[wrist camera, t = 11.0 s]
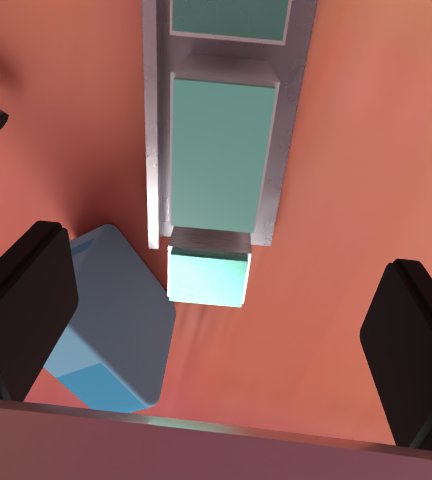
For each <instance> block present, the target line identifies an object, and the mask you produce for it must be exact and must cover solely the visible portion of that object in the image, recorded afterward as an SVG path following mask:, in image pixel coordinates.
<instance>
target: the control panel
mask: <svg viewBox="0 0 432 480" xmlns="http://www.w3.org/2000/svg"><path fill="white" fill-rule="evenodd" d="M8 116H9V115H8V114H6V113H5V112H3V111H2V110H0V129H1V128H2V127H3V126H4V125H5V123H6V122H7V120H8Z"/></svg>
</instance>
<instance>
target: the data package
mask: <svg viewBox="0 0 432 480" xmlns="http://www.w3.org/2000/svg"><path fill="white" fill-rule="evenodd" d="M69 242H70V248H71V254H72V260H73V266H74V272H75V278H76V284H77V290H78V296H79V302H78V307H77V309H76V311H75V313H74V315H73V316H72V318H71V320H70V321H69V323H68V325H67V327H66V328H65V330H64V332H63V333H62V335H61V337H60V339H59V340H58V342H57V344H56V346H55V347H54V349H53V351H52V352H51V354H50V356H49V358H48V359H47V361H46V363H45V364H44V366H43V367H44V368H45V369H46V370H47V371H48V372H50V373H51V374H52V375H53V376H54V377H55V378H56V379H58V380H59V381H60V382H61V383H62V384H63V385H64V386H66V387H67V388H68V389H69V390H70V391H71V392H72V393H74V394H75V395H76V396H77V397H78V398H79V399H80V400H82V401H83V402H84V403H85V404H86V405H87V406H88V407H90V408H91V409H94V410H103V411H112V412H121V413H132V412H135V411H139V410H142V409H146V408H149V407H152V406H154V405H155V404H156V403H157V402H158V400H159V398H160V394H161V388H162V383H163V378H164V373H165V368H166V363H167V358H168V353H169V348H170V343H171V338H172V333H173V327H174V322H175V317H176V311H175V306H174V303H173V301H169V297H168V294H167V292H166V291H165V290H164V288H163V287H162V286H161V284H160V283H159V282H158V280H157V279H156V278H155V276H154V275H153V274H152V273H151V271H150V270H149V269H148V267H147V266H146V265H145V263H144V262H143V261H142V259H141V258H140V257H139V255H138V254H137V253H136V251H135V250H134V249H133V248H132V246H131V245H130V244H129V242H128V241H127V240H126V238H125V237H124V236H123V234H122V233H121V232H120V231H119V229H118V228H116V227H115V226H114V225H111V224H104V225H102V226H100V227H98V228H96V229H94V230H92V231H90V232H88V233H86V234H84V235H81V236H79V237H77V238H75V239H73V240H71V241H69Z"/></svg>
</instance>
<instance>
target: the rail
mask: <svg viewBox="0 0 432 480" xmlns="http://www.w3.org/2000/svg"><path fill="white" fill-rule="evenodd" d="M317 1H318V0H142V29H143V65H144V101H145V136H146V172H147V208H148V244H149V248H150V249H159V246H160V243H161V240H162V237H163V236H167V237H171V238H170V241H169V245H168V297H169V301H178V302H189V303H200V304H211V305H222V306H233V307H241V304H242V303H244V298H245V292H246V285H247V279H248V273H249V267H250V260H251V254H252V252H251V244H255V245H266V246H271V241H272V236H273V231H274V226H275V220H276V215H277V210H278V205H279V199H280V194H281V189H282V184H283V179H284V173H285V168H286V163H287V158H288V153H289V147H290V142H291V137H292V132H293V126H294V121H295V116H296V111H297V106H298V100H299V95H300V90H301V85H302V79H303V74H304V69H305V64H306V59H307V53H308V48H309V43H310V38H311V33H312V27H313V22H314V17H315V12H316V6H317ZM189 54H197V55H208V56H218V57H229V58H240V59H251V60H262V61H268V63H269V65H270V66H271V68H272V70H273V71H274V73H275V75H276V76H277V78H278V80H279V81H280V86H279V92H278V98H277V104H276V110H275V117H274V123H273V129H272V135H271V141H270V148H269V154H268V160H267V166H266V172H265V179H264V185H263V191H262V197H261V203H260V210H259V216H258V222H257V228H256V232H253V233H246V232H235V231H224V230H213V229H202V228H191V227H180V226H171V224H169V184H170V73H171V71H172V70H173V69H174V68H175V67H176V66H178V65H179V64H180V63H181V62H182V61H183V60H184V59H185V58H186V57H187V56H188V55H189Z"/></svg>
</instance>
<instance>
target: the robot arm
mask: <svg viewBox="0 0 432 480" xmlns="http://www.w3.org/2000/svg"><path fill="white" fill-rule="evenodd" d="M78 302H79V296H78V290H77V284H76V278H75V272H74V266H73V260H72V254H71V248H70V242H69V236H68V231H67V229H66V228H62V225H61V224H60V223H59V222H49V221H37V222H36V223H35V224H34V225H33V226H32V227H31V228H30V229H29V230H28V231H27V232H26V233H25V234H24V235H23V236H22V237H21V238H19V239H18V240H17V241H16V242H15V243H14V244H13V245H12V246H11V247H10V248H9V249H8V250H7V251H6V252H5V253H4V254H3V255H2V256H1V257H0V480H432V278H431V277H430V275H429V274H428V272H427V271H426V269H425V268H424V267H423V265H422V264H421V263H420V262H419V261H415V260H406V259H396V260H395V261H394V262H393V263H389V264H388V265H387V266H386V268H385V271H384V273H383V276H382V278H381V281H380V283H379V285H378V288H377V290H376V293H375V295H374V298H373V300H372V303H371V305H370V307H369V310H368V312H367V315H366V317H365V320H364V322H363V325H362V327H361V330H360V341H361V344H362V347H363V350H364V353H365V356H366V359H367V362H368V365H369V368H370V371H371V373H372V376H373V379H374V382H375V385H376V388H377V391H378V394H379V397H380V400H381V403H382V406H383V408H384V411H385V414H386V417H387V420H388V423H389V426H390V429H391V432H392V435H393V438H394V440H395V443H396V446H394V445H387V444H380V443H372V442H364V441H356V440H348V439H340V438H332V437H323V436H315V435H307V434H299V433H291V432H283V431H275V430H266V429H258V428H250V427H241V426H233V425H224V424H216V423H207V422H199V421H190V420H182V419H173V418H165V417H156V416H148V415H139V414H130V413H121V412H112V411H103V410H94V409H85V408H76V407H68V406H59V405H50V404H40V403H30V402H23V401H24V399H25V397H26V395H27V394H28V392H29V390H30V389H31V387H32V385H33V383H34V382H35V380H36V378H37V376H38V375H39V373H40V371H41V370H42V368H43V366H44V364H45V363H46V361H47V359H48V358H49V356H50V354H51V352H52V351H53V349H54V347H55V346H56V344H57V342H58V340H59V339H60V337H61V335H62V333H63V332H64V330H65V328H66V327H67V325H68V323H69V321H70V320H71V318H72V316H73V315H74V313H75V311H76V309H77V307H78Z"/></svg>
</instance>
